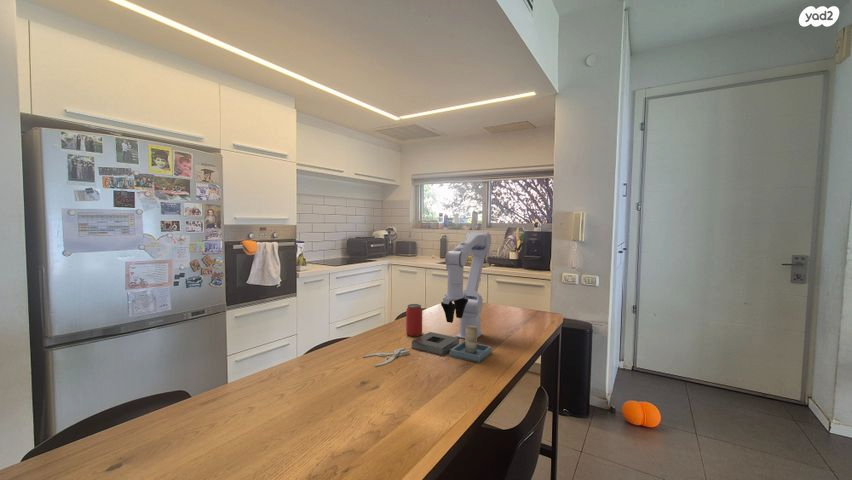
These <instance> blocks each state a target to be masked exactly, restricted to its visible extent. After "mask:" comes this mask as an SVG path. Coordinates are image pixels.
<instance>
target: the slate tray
mask: <svg viewBox="0 0 852 480" xmlns="http://www.w3.org/2000/svg"><path fill="white" fill-rule="evenodd" d="M492 350H493V347H492V346H491V345H487V344H483V343H482V344H481V343H477V353H476V354H470V353H466V352H465V340H463V341H461V342H459V344H458V345H457V346H455V347H453V348H452V349H450V351H449V356H450V357H453V358H457V359H461V360H465V361H469V362H473V363H479V364H480V363H481V362H483V361H484V360H485V359H486V358H488V356H489V355H491V354H492Z"/></svg>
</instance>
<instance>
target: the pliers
mask: <svg viewBox="0 0 852 480" xmlns="http://www.w3.org/2000/svg"><path fill="white" fill-rule="evenodd" d="M407 355H410V349H407V350H406V347H400V348H397V349H394V350H393V352H376V353H370V354H365V355H362V358H363V359H364V358H368V357H369V358H370V357H381V358H385V359H384V360H385V361H383V362H380V363H376V364H374V367H375V368H376V367H381V366H384V365H388V364H390V363H391V362H393V361H395V359H396V358H397V357H401V356H407ZM389 356H390V357H389Z"/></svg>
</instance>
